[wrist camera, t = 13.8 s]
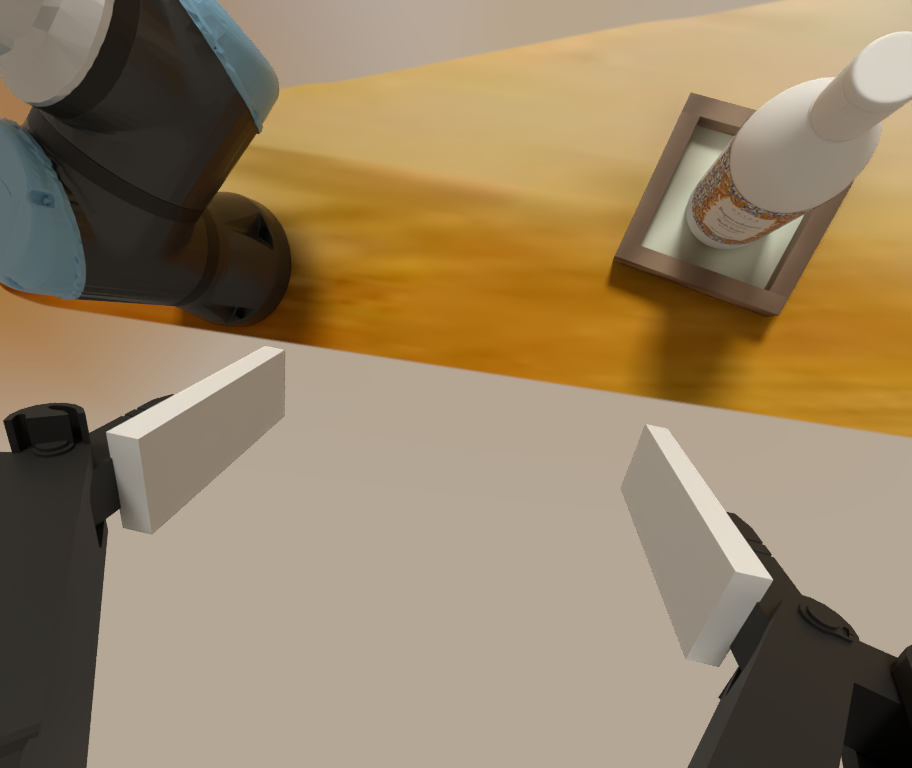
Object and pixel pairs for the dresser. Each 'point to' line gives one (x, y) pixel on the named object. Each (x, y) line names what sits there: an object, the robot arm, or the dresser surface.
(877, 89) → the bath foam
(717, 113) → the tray
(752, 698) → the robot arm
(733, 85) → the dresser surface
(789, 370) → the dresser surface
